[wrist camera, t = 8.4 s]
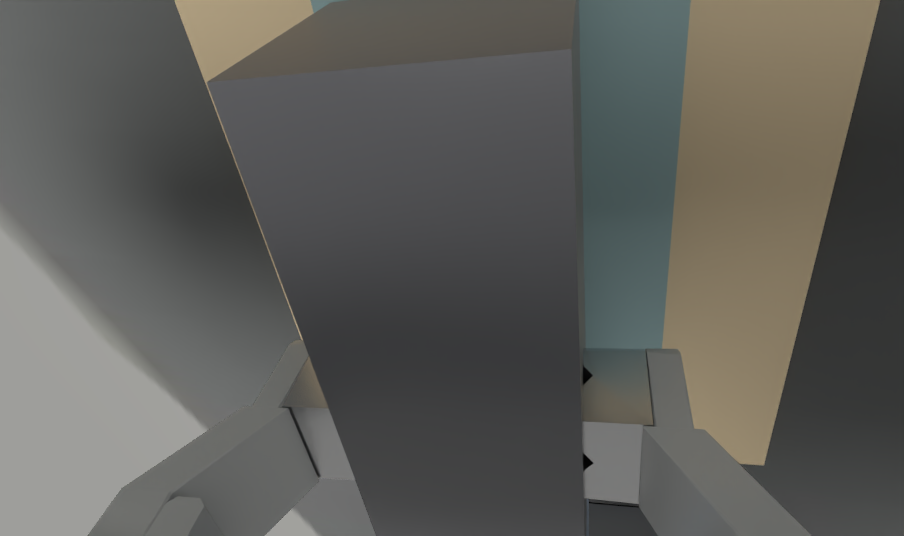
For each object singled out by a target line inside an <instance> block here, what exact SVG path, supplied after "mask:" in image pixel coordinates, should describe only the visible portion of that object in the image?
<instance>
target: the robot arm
mask: <svg viewBox="0 0 904 536" xmlns="http://www.w3.org/2000/svg"><path fill="white" fill-rule="evenodd" d="M582 436H583V453H584V467H583V473H584V498H587V499H597V500H606V501H615V502H625V503H634V504H639V508H640V509H641V511H642V512H643V514H644V515H645V517H646V518H647V520H648V521H649V523H650V524H651V526H652V527H653V529H654V530H655V532H656V533H657V535H658V536H812V535H811V534H810V533H809V532H808V531H807V530H806V529H805V528H804V527H803V526H802V525H800V524H799V523H798V522H797V521H796V520H795V519H794V518H793V517H792V516H791V515H790V514H789V513H788V512H787V511H786V510H785V509H784V508H783V507H782V506H781V505H780V504H779V503H778V502H777V501H776V500H775V499H774V498H773V497H772V496H771V495H770V494H769V493H768V492H767V491H766V490H765V489H764V488H763V487H762V486H761V485H760V484H759V483H758V482H757V481H756V480H755V479H754V478H753V477H752V476H751V475H750V474H749V473H748V472H747V471H746V470H745V469H744V468H743V467H742V466H741V465H740V464H739V463H738V462H737V461H736V460H735V459H734V458H733V457H732V456H731V455H730V454H729V453H728V452H727V451H726V450H725V449H724V448H723V447H722V446H721V445H720V444H719V443H718V442H717V441H716V440H715V439H714V438H713V437H712V436H711V435H710V434H709V433H708V432H707V431H706V430H704V429H694V425H693V419H692V413H691V408H690V402H689V397H688V391H687V385H686V380H685V374H684V369H683V363H682V357H681V353H680V351H679V350H678V349H645V350H644V349H621V348H583V396H582ZM318 478H322V479H342V480H355V478H354V475H353V472H352V470H351V467H350V464H349V462H348V459H347V456H346V454H345V451H344V448H343V446H342V443H341V440H340V438H339V435H338V432H337V430H336V427H335V424H334V422H333V419H332V416H331V414H330V411H329V408H328V406H327V403H326V400H325V398H324V395H323V392H322V390H321V387H320V384H319V382H318V379H317V376H316V373H315V371H314V368H313V365H312V363H311V360H310V357H309V355H308V352H307V349H306V347H305V344H304V341H300V340H296V341H294V342H292V343H291V344H289V346H288V347H287V349H286V350H285V352H284V354H283V355H282V357H281V359H280V360H279V362H278V364H277V365H276V367H275V369H274V370H273V372H272V374H271V375H270V377H269V379H268V381H267V382H266V384H265V386H264V387H263V389H262V391H261V392H260V394H259V396H258V397H257V399H256V401H255V402H254V404H253V406H244V407H242V408H241V409H239V410H238V411H236V412H235V413H233V414H232V415H230V416H229V417H227V418H226V419H224V420H223V421H221V422H220V423H218V424H217V425H215V426H214V427H212V428H211V429H209V430H208V431H206V432H205V433H203V434H202V435H201V436H199V437H197V438H196V439H195V440H193V441H192V442H190V443H189V444H187V445H186V446H184V447H183V448H181V449H180V450H178V451H177V452H175V453H174V454H172V455H171V456H169V457H168V458H166V459H165V460H163V461H162V462H160V463H159V464H157V465H156V466H154V467H153V468H151V469H150V470H148V471H147V472H145V473H144V474H143V475H141V476H139V477H138V478H136V479H135V480H133V481H132V482H130V483H129V484H127V485H126V486H124V487H123V488H122V489H121V490H120V491H119V493H118V494H117V495H116V497H115V498H114V500H113V501H112V502H111V504H110V505H109V507H108V508H107V509H106V511H105V512H104V514H103V515H102V516H101V518H100V519H99V521H98V522H97V523H96V525H95V526H94V528H93V529H92V530H91V532H90V533H89V534H88V536H264V535H266V534H267V532H269V531H270V529H272V528H273V527H274V526H275V525H276V524H277V523H278V522H279V521H280V520H281V519H282V518H283V517H284V516H285V515H286V514H287V513H288V512H289V511H290V510H291V509H292V508H293V507H294V506H295V505H296V504H297V503H298V502H299V501H300V500H301V499H302V498H303V497H304V496H305V495H306V494H307V493H308V492H309V491H310V490H311V489H312V488H313V487H314V486H315V485H316V484H317V483H318V482H319V479H318Z"/></svg>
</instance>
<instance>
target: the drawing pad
mask: <svg viewBox="0 0 904 536" xmlns="http://www.w3.org/2000/svg"><path fill="white" fill-rule="evenodd" d="M174 1H175V3H176V6H177V9H178V11H179V14H180V17H181V19H182V22H183V25H184V27H185V30H186V33H187V35H188V38H189V41H190V43H191V46H192V49H193V51H194V54H195V57H196V59H197V62H198V65H199V67H200V70H201V73H202V75H203V78H204V81H205V83H206V86H207V89H208V91H209V94H210V97H211V99H212V102H213V105H214V107H215V110H216V113H217V115H218V118H219V121H220V123H221V126H222V129H223V131H224V134H225V137H226V139H227V142H228V145H229V148H230V150H231V153H232V156H233V158H234V161H235V164H236V166H237V169H238V172H239V174H240V177H241V180H242V182H243V185H244V188H245V190H246V193H247V196H248V198H249V201H250V204H251V206H252V209H253V212H254V214H255V217H256V220H257V222H258V225H259V228H260V230H261V233H262V236H263V238H264V241H265V244H266V246H267V249H268V252H269V254H270V257H271V260H272V262H273V265H274V268H275V270H276V273H277V276H278V278H279V281H280V284H281V286H282V289H283V292H284V294H285V297H286V300H287V302H288V305H289V308H290V310H291V313H292V316H293V318H294V321H295V324H296V326H297V329H298V332H299V334H300V337H301V340H302V341H303V339H302V336H301V333H300V331H299V328H298V325H297V323H296V320H295V317H294V315H293V312H292V309H291V307H290V304H289V301H288V299H287V296H286V293H285V291H284V288H283V285H282V283H281V280H280V277H279V275H278V272H277V269H276V267H275V264H274V261H273V259H272V256H271V253H270V251H269V248H268V245H267V243H266V240H265V237H264V235H263V232H262V229H261V226H260V224H259V221H258V218H257V216H256V213H255V210H254V208H253V205H252V202H251V200H250V197H249V194H248V192H247V189H246V186H245V184H244V181H243V178H242V176H241V173H240V170H239V168H238V165H237V162H236V160H235V157H234V154H233V152H232V149H231V146H230V144H229V141H228V138H227V136H226V133H225V130H224V128H223V125H222V122H221V120H220V117H219V114H218V112H217V109H216V106H215V104H214V101H213V98H212V96H211V93H210V90H209V88H208V85H207V82H208V81H209V80H211V79H212V78H214V77H216V76H217V75H219V74H220V73H222V72H223V71H225V70H226V69H228V68H230V67H231V66H233V65H234V64H236V63H237V62H239V61H240V60H242V59H244V58H245V57H247V56H248V55H250V54H251V53H253V52H254V51H256V50H258V49H259V48H261V47H262V46H264V45H265V44H267V43H268V42H270V41H272V40H273V39H275V38H276V37H278V36H279V35H281V34H282V33H284V32H286V31H287V30H289V29H290V28H292V27H293V26H295V25H296V24H298V23H300V22H301V21H303V20H304V19H306V18H307V17H309V16H310V15H312V14H314V13H315V12H317V11H318V10H320V9H321V8H323V7H324V6H326V5H328V4H329V3H331V2H339V1H347V0H174ZM879 4H880V0H579V31H580V81H581V132H582V183H583V234H584V284H585V335H586V348H621V349H644V350H645V349H678V350H679V351H680V353H681V357H682V363H683V369H684V374H685V380H686V385H687V391H688V397H689V402H690V408H691V413H692V419H693V425H694V429H704V430H706V431H707V432H708V433H709V434H710V435H711V436H712V437H713V438H714V439H715V440H716V441H717V442H718V443H719V444H720V445H721V446H722V447H723V448H724V449H725V450H726V451H727V452H728V453H729V454H730V455H731V456H732V457H733V458H734V459H735V460H736V461H737V462H738V463H739V464H750V465H764V463H765V459H766V455H767V451H768V447H769V443H770V439H771V435H772V431H773V427H774V423H775V419H776V415H777V411H778V407H779V403H780V399H781V395H782V391H783V387H784V383H785V379H786V375H787V371H788V367H789V363H790V359H791V355H792V351H793V347H794V343H795V339H796V335H797V331H798V327H799V323H800V319H801V315H802V311H803V307H804V303H805V299H806V295H807V291H808V287H809V283H810V279H811V275H812V271H813V267H814V263H815V259H816V255H817V251H818V247H819V243H820V239H821V235H822V231H823V227H824V223H825V219H826V215H827V211H828V207H829V203H830V199H831V195H832V191H833V187H834V183H835V179H836V175H837V171H838V167H839V163H840V160H841V156H842V152H843V148H844V144H845V140H846V136H847V132H848V128H849V124H850V120H851V116H852V112H853V108H854V104H855V100H856V96H857V92H858V88H859V84H860V80H861V76H862V72H863V68H864V64H865V60H866V56H867V52H868V48H869V44H870V40H871V36H872V32H873V28H874V24H875V20H876V16H877V12H878V8H879Z"/></svg>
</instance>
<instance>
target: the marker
mask: <svg viewBox="0 0 904 536" xmlns="http://www.w3.org/2000/svg"><path fill="white" fill-rule="evenodd" d="M207 85H208V88H209V90H210V93H211V96H212V98H213V101H214V104H215V106H216V109H217V112H218V114H219V117H220V120H221V122H222V125H223V128H224V130H225V133H226V136H227V138H228V141H229V144H230V146H231V149H232V152H233V154H234V157H235V160H236V162H237V165H238V168H239V170H240V173H241V176H242V178H243V181H244V184H245V186H246V189H247V192H248V194H249V197H250V200H251V202H252V205H253V208H254V210H255V213H256V216H257V218H258V221H259V224H260V226H261V229H262V232H263V235H264V237H265V240H266V243H267V245H268V248H269V251H270V253H271V256H272V259H273V261H274V264H275V267H276V269H277V272H278V275H279V277H280V280H281V283H282V285H283V288H284V291H285V293H286V296H287V299H288V301H289V304H290V307H291V309H292V312H293V315H294V317H295V320H296V323H297V325H298V328H299V331H300V333H301V336H302V339H303V341H304V344H305V347H306V349H307V352H308V355H309V357H310V360H311V363H312V365H313V368H314V371H315V373H316V376H317V379H318V382H319V384H320V387H321V390H322V392H323V395H324V398H325V400H326V403H327V406H328V408H329V411H330V414H331V416H332V419H333V422H334V424H335V427H336V430H337V432H338V435H339V438H340V440H341V443H342V446H343V448H344V451H345V454H346V456H347V459H348V462H349V464H350V467H351V470H352V472H353V475H354V478H355V480H356V483H357V486H358V488H359V491H360V494H361V496H362V499H363V502H364V504H365V507H366V510H367V512H368V515H369V518H370V520H371V523H372V526H373V528H374V531H375V534H376V536H589V499H587V498H584V473H583V467H584V453H583V436H582V396H583V348H586V335H585V284H584V234H583V183H582V132H581V81H580V31H579V0H347V1H339V2H331V3H329V4H328V5H326V6H324V7H323V8H321V9H320V10H318V11H317V12H315V13H314V14H312V15H310V16H309V17H307V18H306V19H304V20H303V21H301V22H300V23H298V24H296V25H295V26H293V27H292V28H290V29H289V30H287V31H286V32H284V33H282V34H281V35H279V36H278V37H276V38H275V39H273V40H272V41H270V42H268V43H267V44H265V45H264V46H262V47H261V48H259V49H258V50H256V51H254V52H253V53H251V54H250V55H248V56H247V57H245V58H244V59H242V60H240V61H239V62H237V63H236V64H234V65H233V66H231V67H230V68H228V69H226V70H225V71H223V72H222V73H220V74H219V75H217V76H216V77H214V78H212V79H211V80H209V81H208V82H207Z"/></svg>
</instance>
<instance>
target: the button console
mask: <svg viewBox="0 0 904 536" xmlns="http://www.w3.org/2000/svg"><path fill="white" fill-rule="evenodd" d="M589 536H658V535H657V533H656V532H655V530H654V529H653V527H652V526H651V524H650V523H649V521H648V520H647V518H646V517H645V515H644V514H643V512H642V511H641V509H640V508H636V507H625V506H613V505H602V504H591V503H589Z"/></svg>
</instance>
